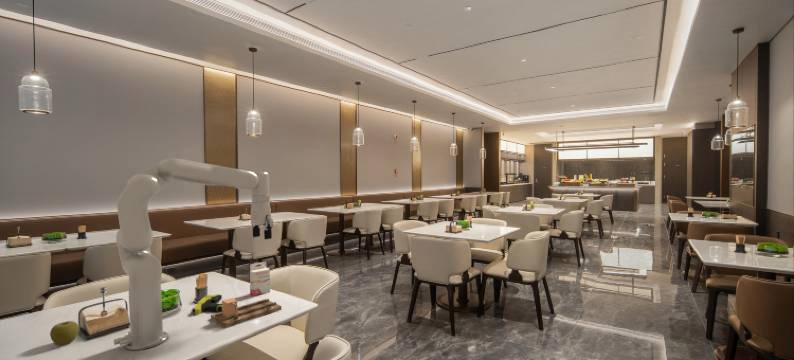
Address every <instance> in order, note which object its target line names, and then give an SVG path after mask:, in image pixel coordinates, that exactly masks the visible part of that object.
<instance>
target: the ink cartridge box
mask: <svg viewBox="0 0 794 360" xmlns="http://www.w3.org/2000/svg"><path fill="white" fill-rule="evenodd" d="M249 292H250V295H252V296H254V297H255V296H258V295H259V296H260V295H264V294H268V293H271V271H270V268H269V267H267V262H266V261H261V262H255V263H250V264H249Z"/></svg>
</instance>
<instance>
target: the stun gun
mask: <svg viewBox="0 0 794 360" xmlns="http://www.w3.org/2000/svg"><path fill="white" fill-rule="evenodd" d="M222 296H223V295H222V294H218V293H217V294H211V295H210V294H207V295H205V296H202V297H203V298H201V299H200V300H199V301H198V302H196V305H195V306H194V307H193V308H192V311H191V312H192V314H193V315H194V316H199V315H201V314H202V313H203V312H206V311H207V312H211V313H220V312H223V311H222V303H219V302H220V301H222V298H223V297H222Z"/></svg>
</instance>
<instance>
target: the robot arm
mask: <svg viewBox="0 0 794 360" xmlns="http://www.w3.org/2000/svg"><path fill="white" fill-rule="evenodd" d="M172 181H175V182H176V181H177V182H181V183H190V184H196V185H204V186H212V187H217V186H218V187H221V186H222V187H223V186H224V187H229V188H231V187H232V188H235V189H239V190H251V191H250V193H251V206H250V218H249V219H250V224H251V228H252V237H253V238H257V237H260V236H261V228H260V227H263V228H264V230H263V233H264V234H263V235H264V236H263V237H264V240H269V239H270V240H271V239H272V237H273V235H272V234H273V233H272V230H273V226H274V225H273V223H274V219H273V218H272V211H271V205H270V203H271V198H270V197H271V195H270V194H271V193H270V174H269V173H268V172H267V171H250V170H245V169H239V168H235V167H229V166H228V167H227V166H221V165H218V164H210V163H205V162H200V161H194V160H189V159H183V158H179V157H178V158H175V157H172V158H171V157H170V158H167V159H166V158H165V159H163V160H161V161H159V162H157V163H156V164H154V165H152V166H150V167H148V168H147V169H144V170H142V171H140V172H138V173H137V174H135V175H133V176H132V177H130V178H129V179H128V181H127V183H126V187H125V188H124V189H123V190H122V192H121V194H120V196H119V198H118V200H117V208H116V209H117V215H118V216H117V217H118V223H119V229H118V231H117V233H116V236H115V238H116V240H115V241H116V247H117V251H118V254H119V255H118V256H119V259H120V264H121V268H122V270H123V272H124V273H125V274H126V275H127V276H128V306H129V307H128V308H129V310H128V311H129V327H130V330H129V331H127V334H125V335H124V336H123V337H117V338H114V339H113V345H114V346H116V345H120V346H123V345H125V348H126V349H127V350H130V351H137V350H138V351H139V350H140V351H141V350H145V349H149V348H152V347H156V346H158V345H160V344H163V343H164V342H166V340H167V339H168V338H169V333H168V332H167V331H164V328H163V327H164V326H163V308H162V307H163V306H162V305H163V303H162V302H163V300H162V274H163V273H162V272H163V268H162V263H161V261H160V259H158V257H156V256H155V255H153V254H152V252H151V246H152V244H153V241H154V234H153V230H152V227H151V223H150V222H151V221H150V218H149V217H150V216H149V210H148V208H149V207H148V206H149V203H150V201H151V199H153V197H155V196H156V195H158V194H159V192H160V191H161V188H162V187H164V186H166V185H167V184H169V183H170V182H172Z"/></svg>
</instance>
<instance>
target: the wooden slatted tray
mask: <svg viewBox="0 0 794 360" xmlns="http://www.w3.org/2000/svg"><path fill="white" fill-rule="evenodd" d="M237 310H238V313H234V315H231V316H228V317H225V316H223V312H215V313H213V314H211V315H210V319H211V320H212V321H213V322H215V323H216V324H218V325H220V326H221V327H222V328H224V329H226V328H230V327H233V326H236V325H239V324H242V323H245V322H248V321H251V320H254V319H256V318H260V317H262V316H266V315H269V314H272V313H277V312H278V311H281V310H282V305H280V304H278V303H277V302H276V301H275V302H274V301H272V300H270V299H269V298H264V299H261V300H257V301H254V302H252V303H248V304H244V305H240V306H237Z"/></svg>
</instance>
